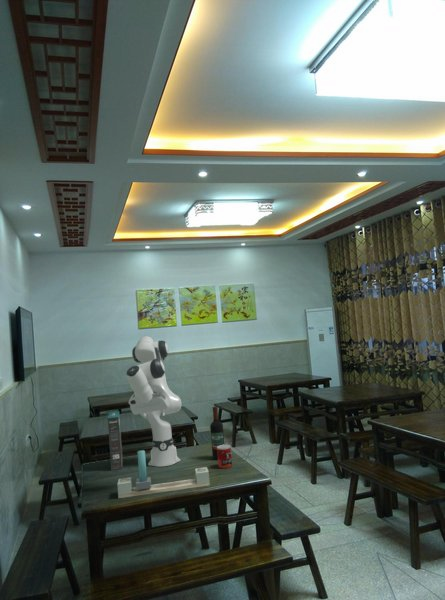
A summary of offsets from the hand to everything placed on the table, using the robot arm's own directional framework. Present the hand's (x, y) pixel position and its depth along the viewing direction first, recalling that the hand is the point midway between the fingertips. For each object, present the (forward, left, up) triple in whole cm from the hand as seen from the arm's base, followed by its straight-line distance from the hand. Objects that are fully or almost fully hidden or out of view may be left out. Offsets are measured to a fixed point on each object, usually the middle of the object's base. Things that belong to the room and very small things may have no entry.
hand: (155, 417), depth 235 cm
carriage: (+11, -8, -31) cm, 34 cm away
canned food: (-11, +36, -34) cm, 51 cm away
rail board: (+11, +2, -33) cm, 35 cm away
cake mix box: (-43, -25, -34) cm, 60 cm away
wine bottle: (-28, +35, -34) cm, 56 cm away
